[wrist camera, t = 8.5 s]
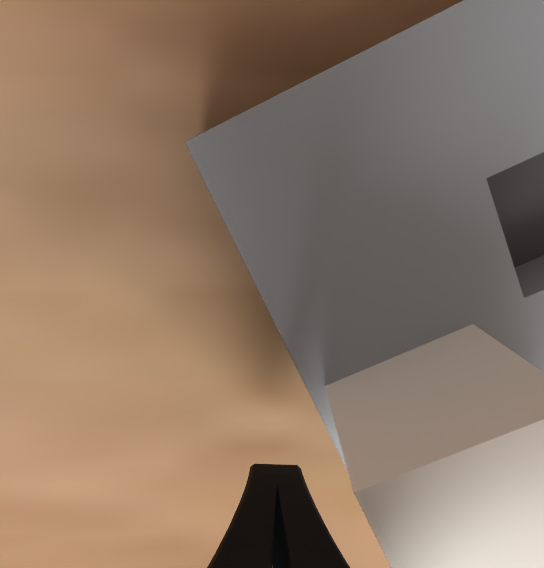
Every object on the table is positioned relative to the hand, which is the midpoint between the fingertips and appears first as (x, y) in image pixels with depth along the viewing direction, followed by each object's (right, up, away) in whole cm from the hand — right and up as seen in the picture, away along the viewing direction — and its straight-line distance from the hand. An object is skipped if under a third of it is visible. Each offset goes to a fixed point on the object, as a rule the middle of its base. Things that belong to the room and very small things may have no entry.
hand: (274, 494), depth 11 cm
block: (+4, +2, +1) cm, 5 cm away
